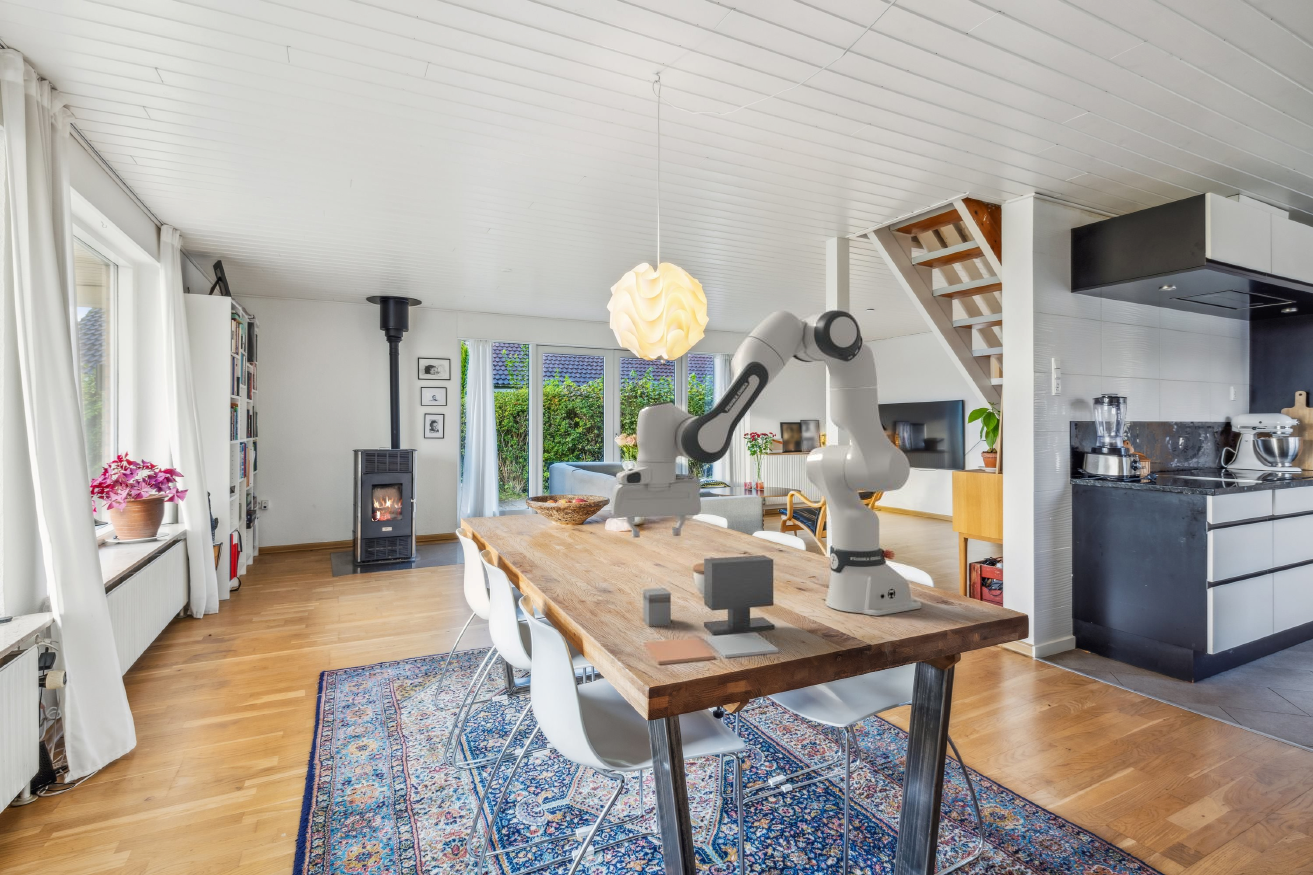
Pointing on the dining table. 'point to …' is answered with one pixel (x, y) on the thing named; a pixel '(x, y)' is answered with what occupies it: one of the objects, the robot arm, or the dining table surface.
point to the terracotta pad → (678, 651)
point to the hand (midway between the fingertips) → (656, 536)
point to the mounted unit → (738, 592)
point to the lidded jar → (699, 577)
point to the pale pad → (741, 645)
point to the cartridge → (657, 607)
